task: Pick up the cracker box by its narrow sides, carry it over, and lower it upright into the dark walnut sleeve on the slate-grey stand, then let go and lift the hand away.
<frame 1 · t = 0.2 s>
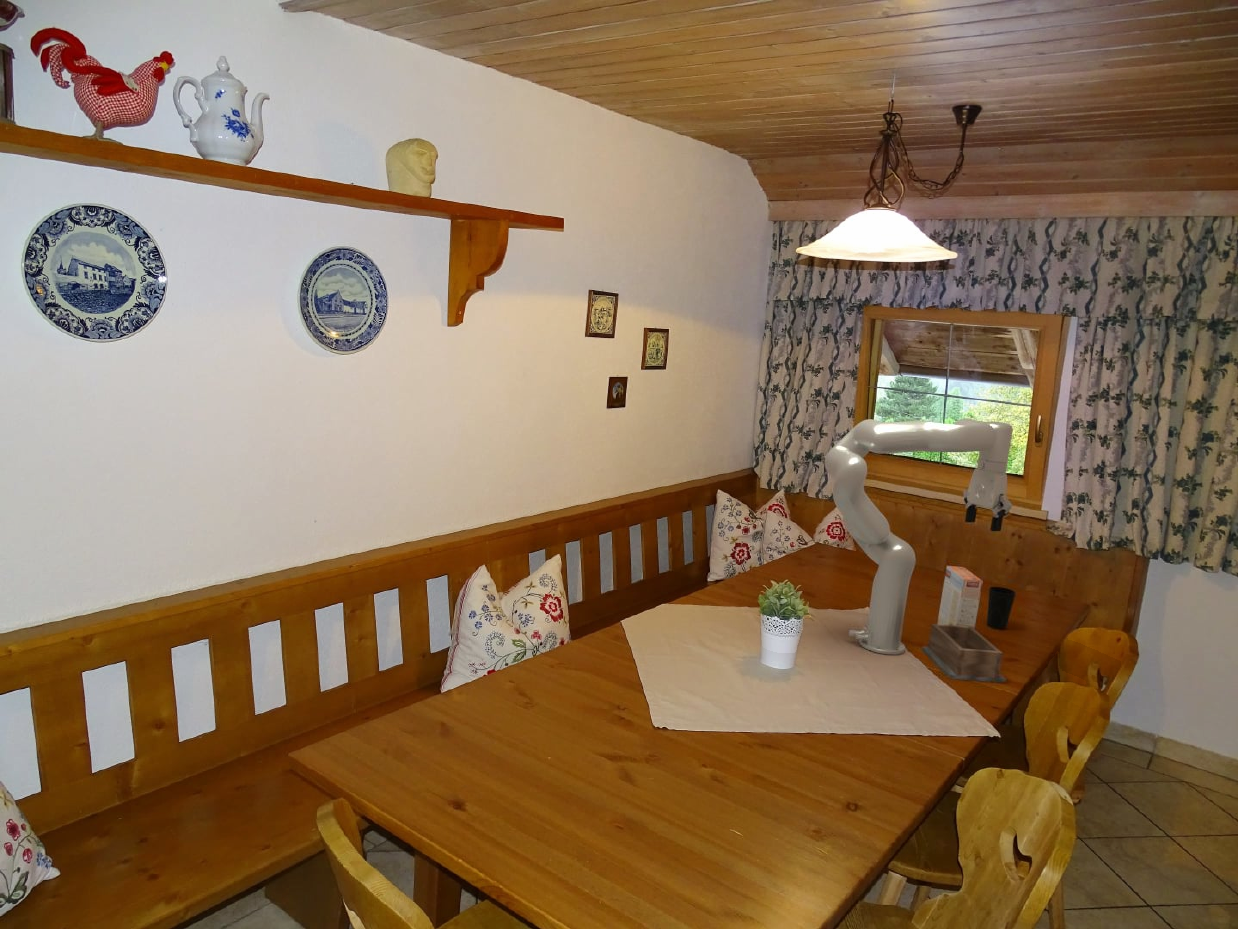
hand: (982, 526, 247), 37 cm above the table, tool pointing down, fingers open, 9 cm apart
cup: (996, 627, 277), on the table
cracker box: (953, 640, 262), on the table
box stand: (961, 665, 242), on the table
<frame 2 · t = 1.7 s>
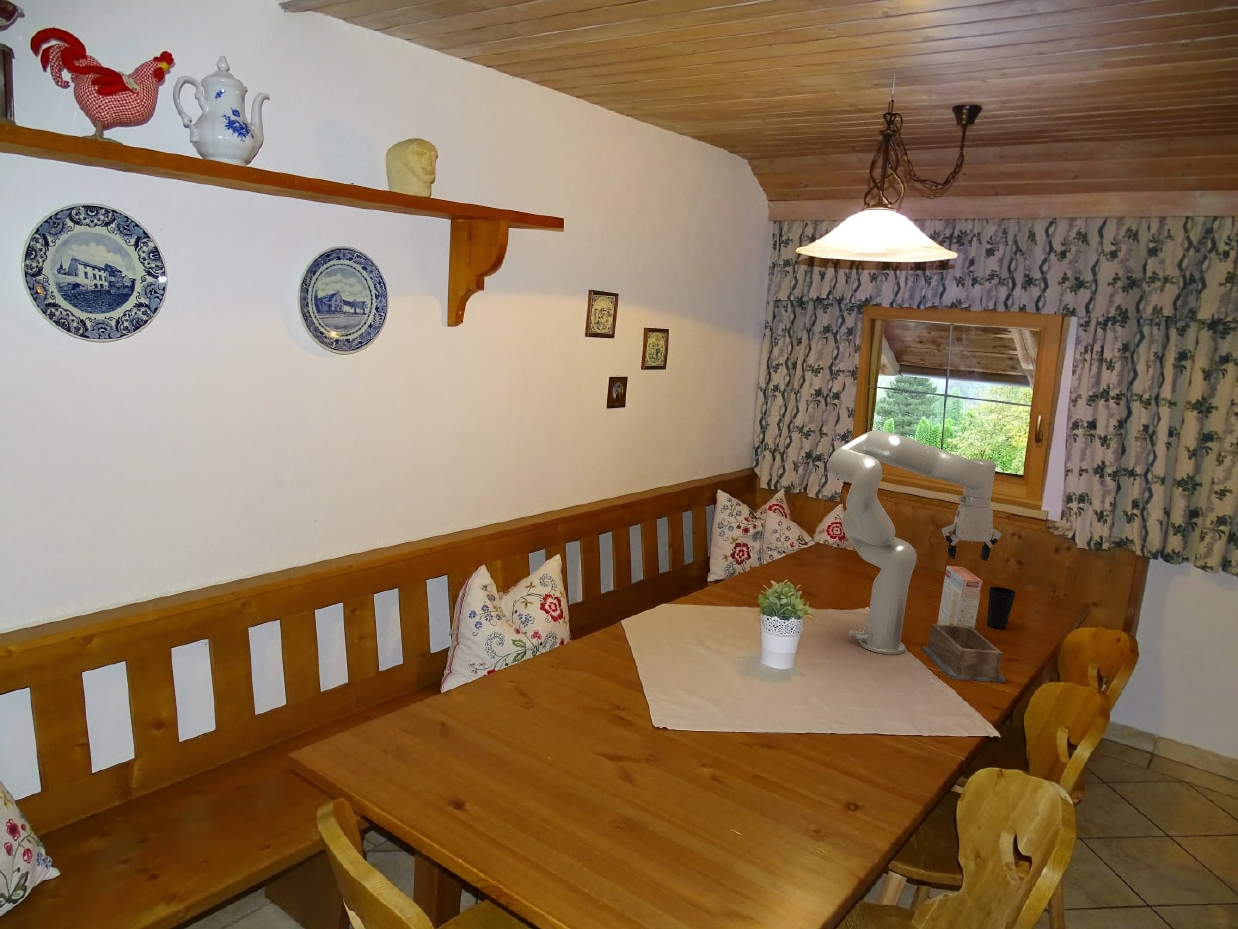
hand: (967, 558, 258), 25 cm above the table, tool pointing down, fingers open, 9 cm apart
nothing on the table moved.
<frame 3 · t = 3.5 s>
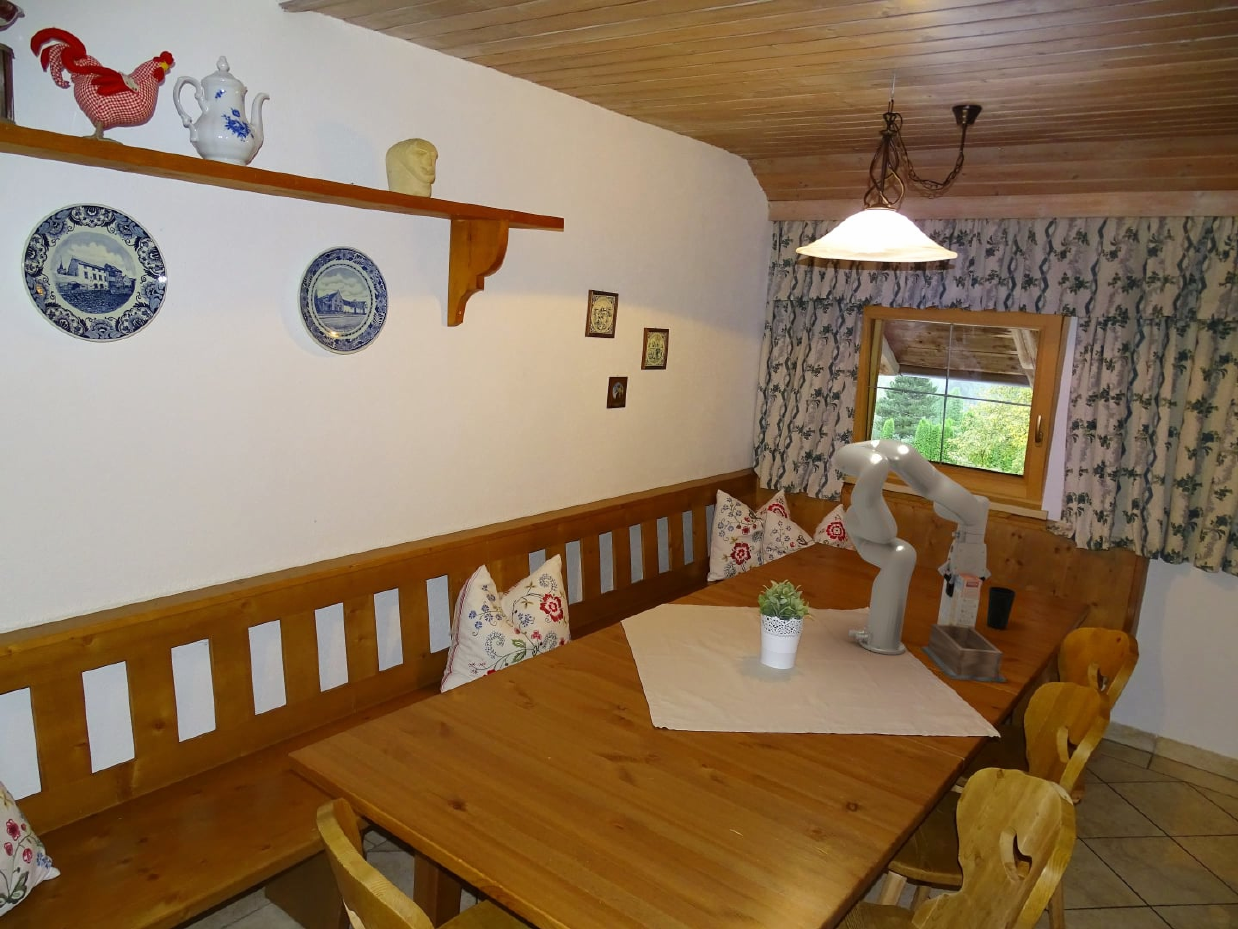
hand: (960, 596, 259), 14 cm above the table, tool pointing down, fingers closed on cracker box, 6 cm apart
cracker box: (953, 640, 262), on the table, touching gripper
everything else where it was.
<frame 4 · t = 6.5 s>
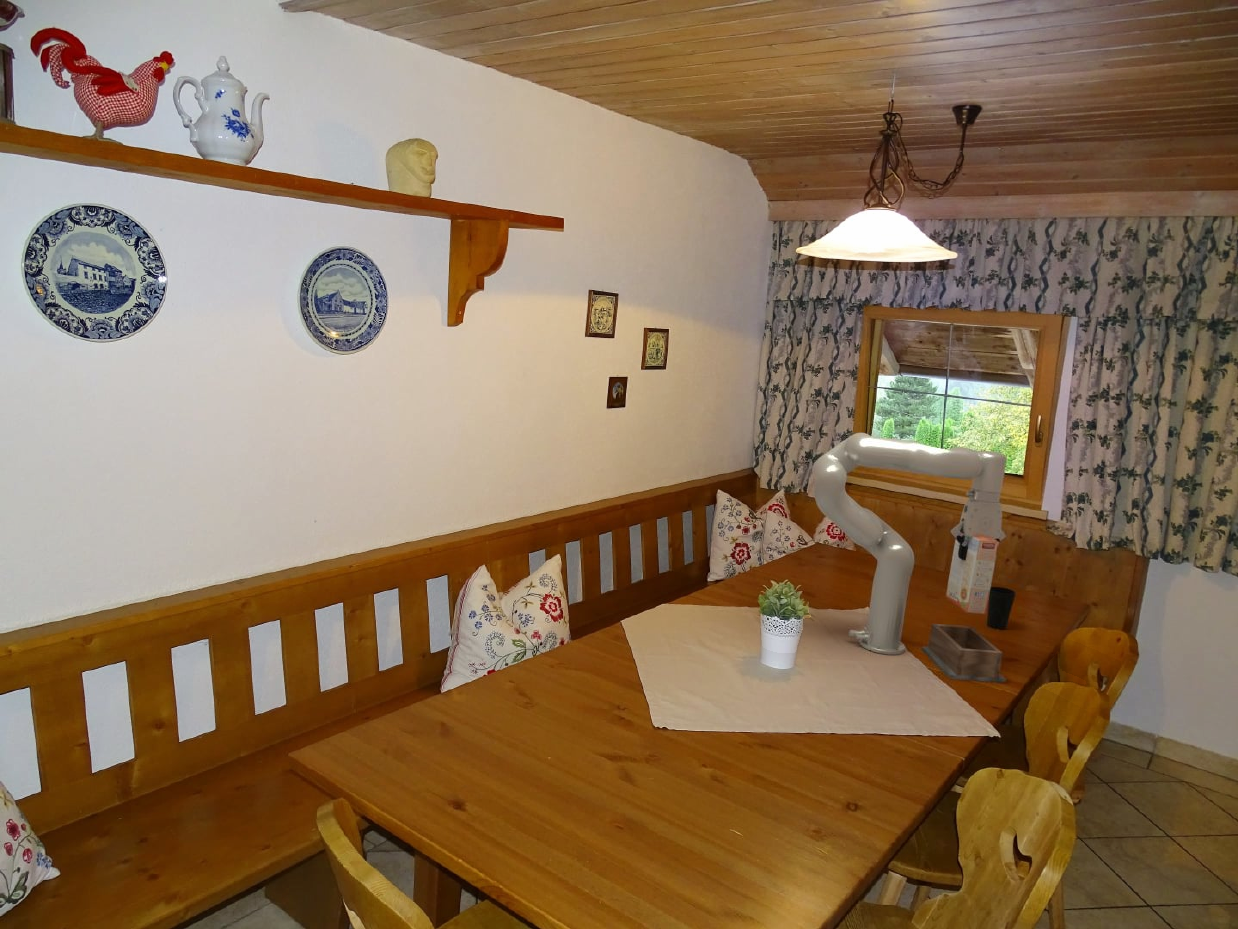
hand: (973, 559, 244), 28 cm above the table, tool pointing down, fingers closed on cracker box, 6 cm apart
cracker box: (965, 606, 246), point 14 cm above the table, touching gripper
everything else where it was.
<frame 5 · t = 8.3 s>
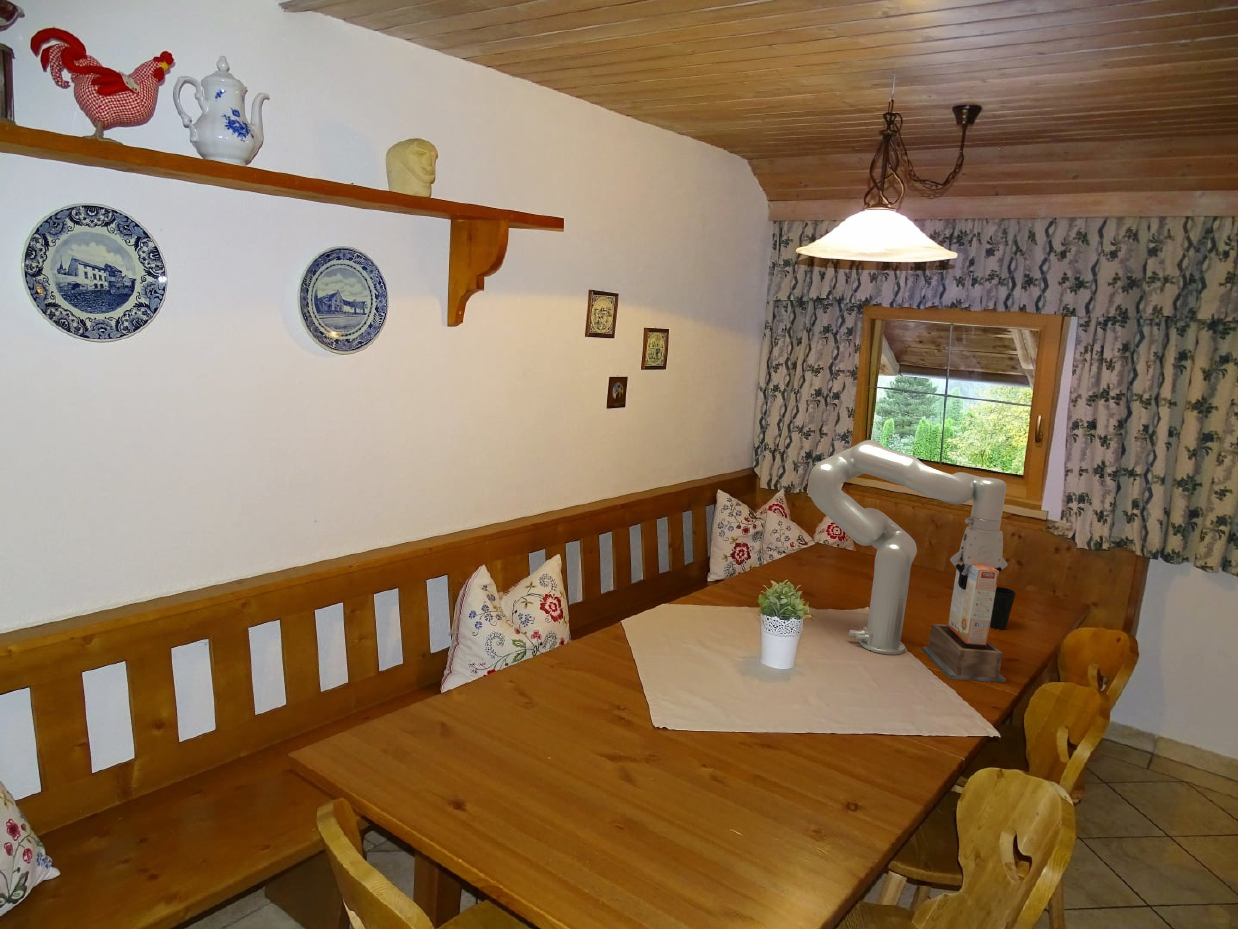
hand: (974, 588, 238), 22 cm above the table, tool pointing down, fingers closed on cracker box, 6 cm apart
cracker box: (966, 637, 240), point 8 cm above the table, touching gripper
everything else where it was.
when the fingers open (16 cm above the table, at t = 9.8 s): cracker box drops 2 cm, resting on box stand.
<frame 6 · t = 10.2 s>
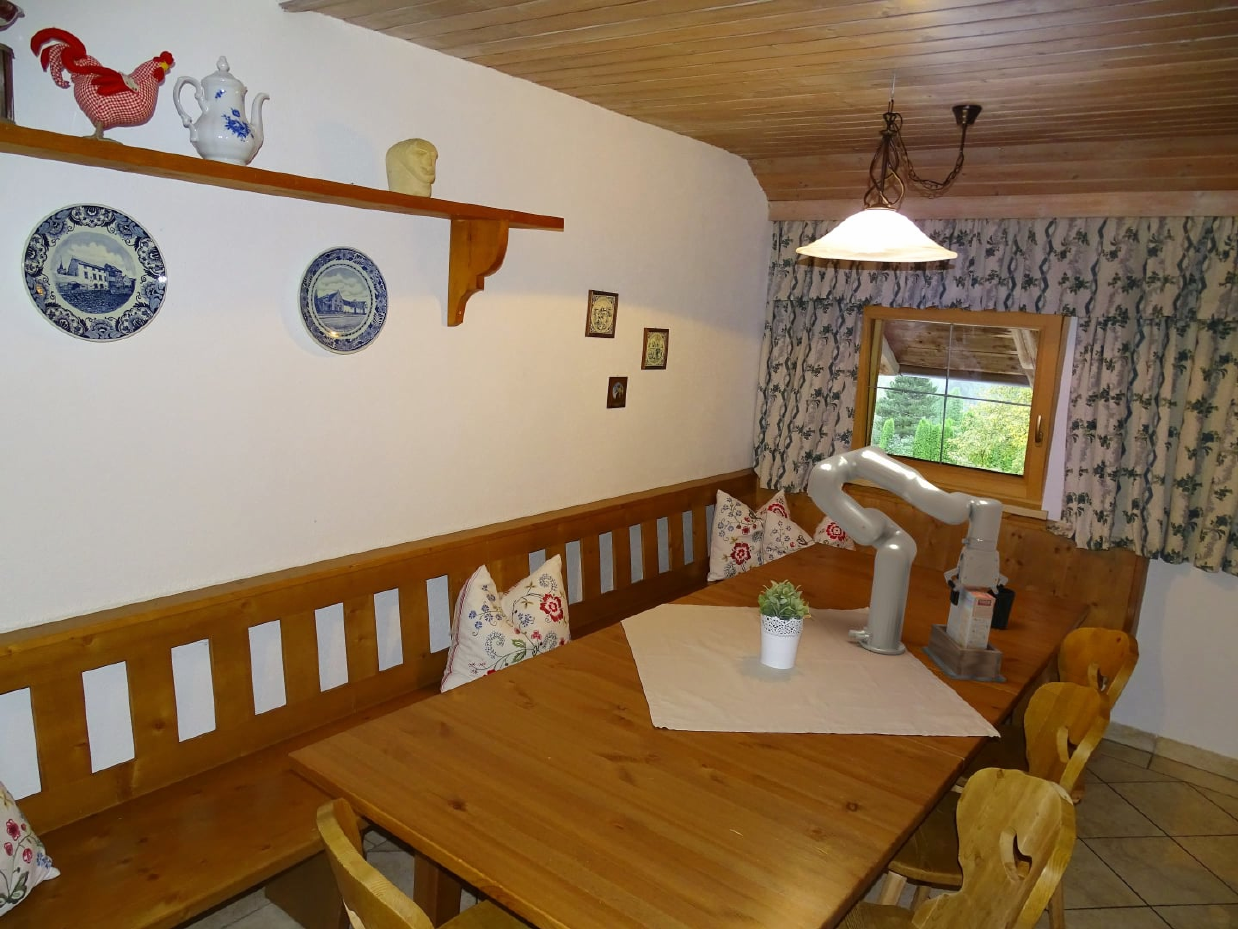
hand: (971, 605, 239), 17 cm above the table, tool pointing down, fingers open, 9 cm apart
cracker box: (962, 662, 242), point 1 cm above the table, touching box stand
everything else where it was.
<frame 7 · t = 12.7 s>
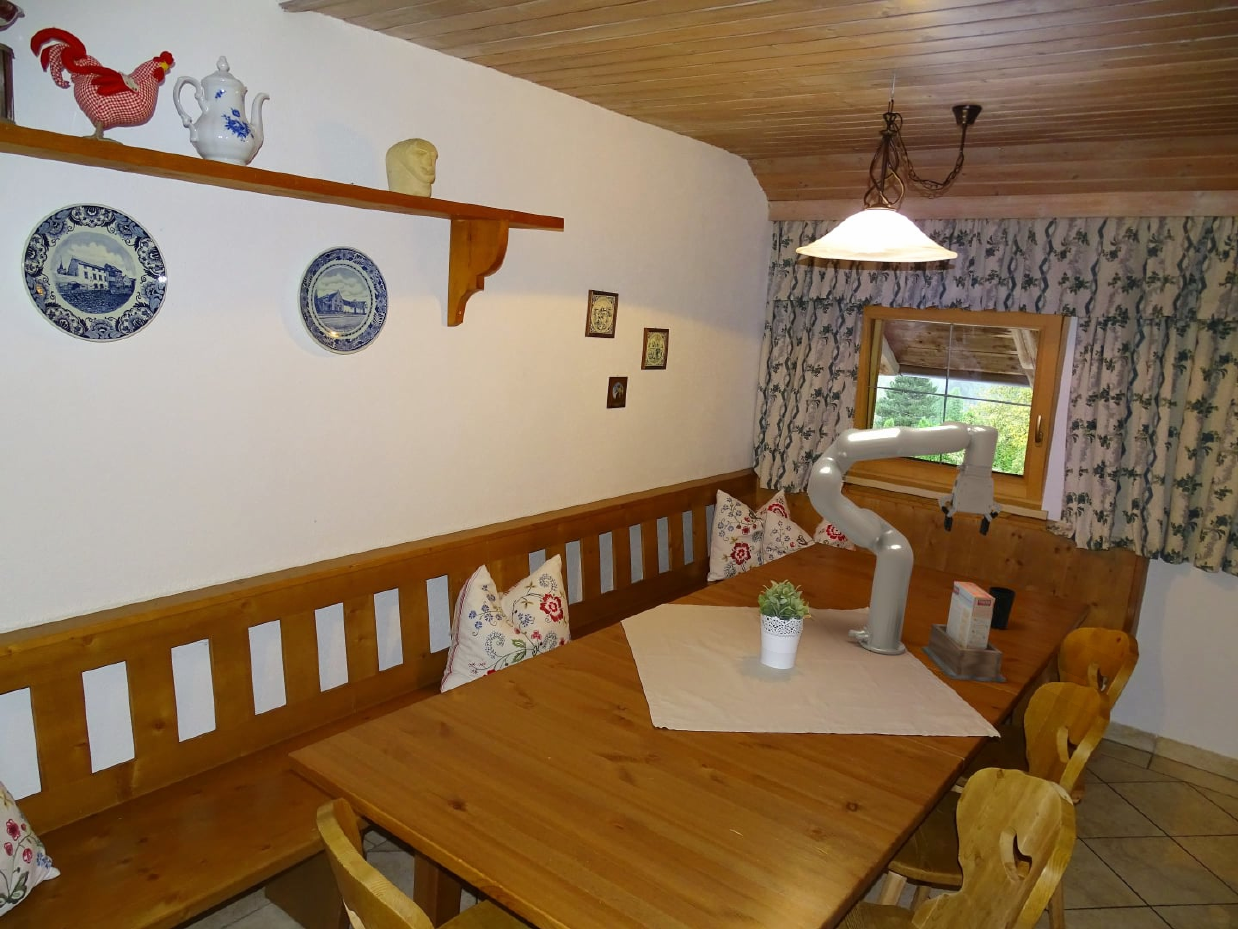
hand: (965, 532, 241), 36 cm above the table, tool pointing down, fingers open, 9 cm apart
nothing on the table moved.
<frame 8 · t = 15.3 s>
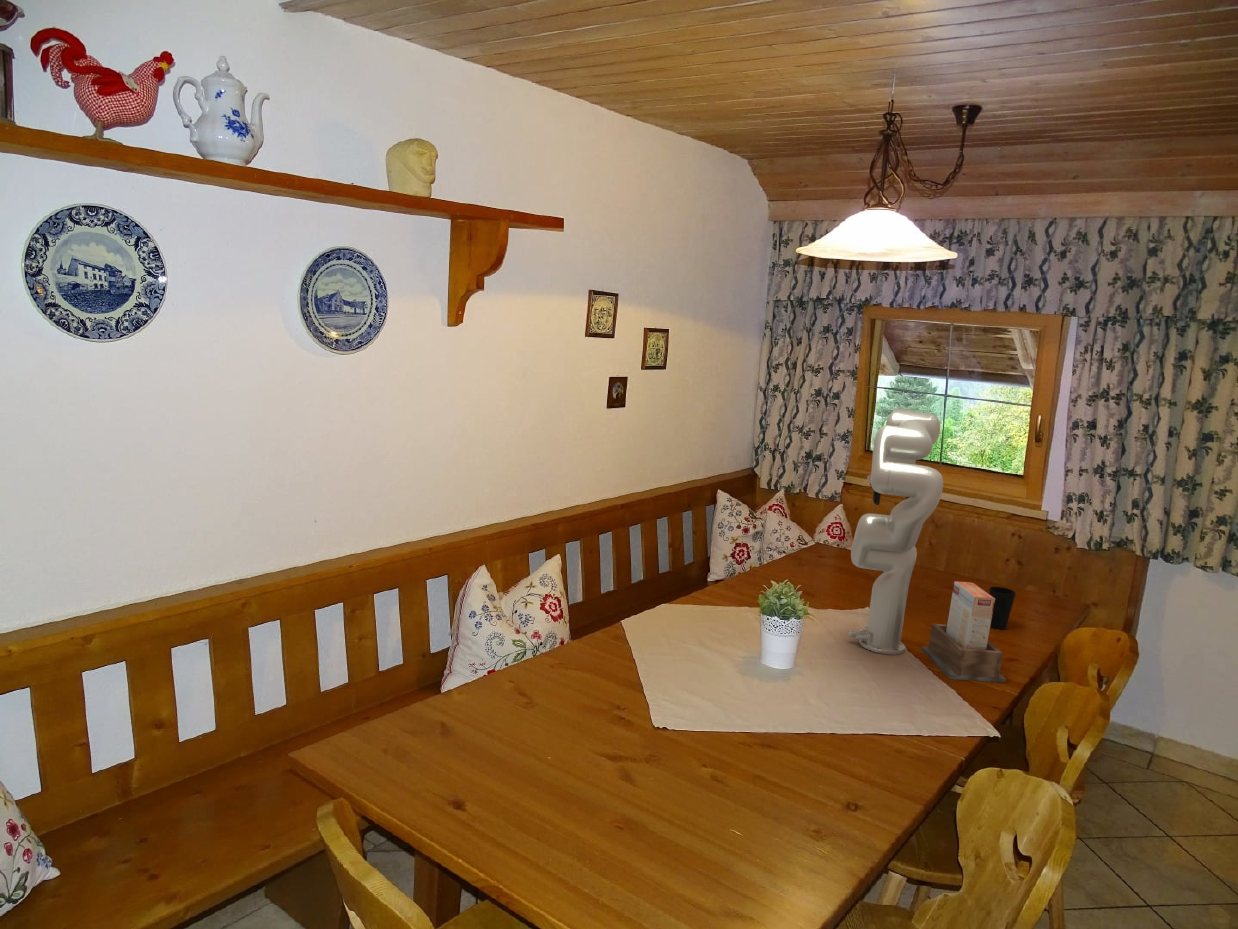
hand: (891, 505, 268), 36 cm above the table, tool pointing down, fingers open, 9 cm apart
nothing on the table moved.
at the end: cracker box 0.1 cm off-centre on the box stand, point 0.8 cm above the box stand's base; cracker box tilted 0°; the gripper is holding nothing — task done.
